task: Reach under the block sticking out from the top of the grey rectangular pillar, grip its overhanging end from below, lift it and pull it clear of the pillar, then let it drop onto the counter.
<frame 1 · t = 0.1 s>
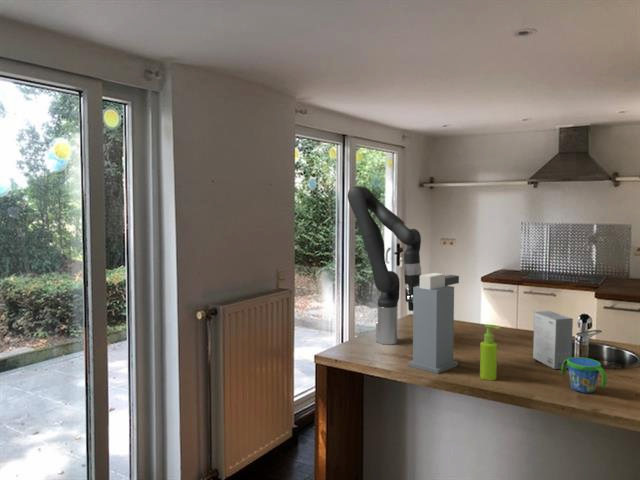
hand: (414, 308, 236), 17 cm above the counter, tool pointing down, fingers open, 8 cm apart
soap dispenser: (489, 378, 195), on the counter
block: (440, 285, 210), point 32 cm above the counter, touching grey rectangular pillar
snack cup: (582, 390, 182), on the counter
hard drive box: (551, 363, 212), on the counter
grey rectangular pillar: (433, 365, 210), on the counter
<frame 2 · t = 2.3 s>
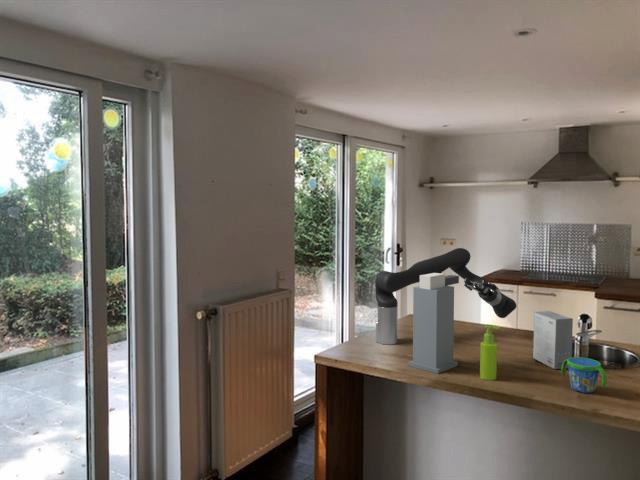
hand: (474, 280, 228), 31 cm above the counter, tool pointing upward, fingers open, 8 cm apart
nothing on the counter moved.
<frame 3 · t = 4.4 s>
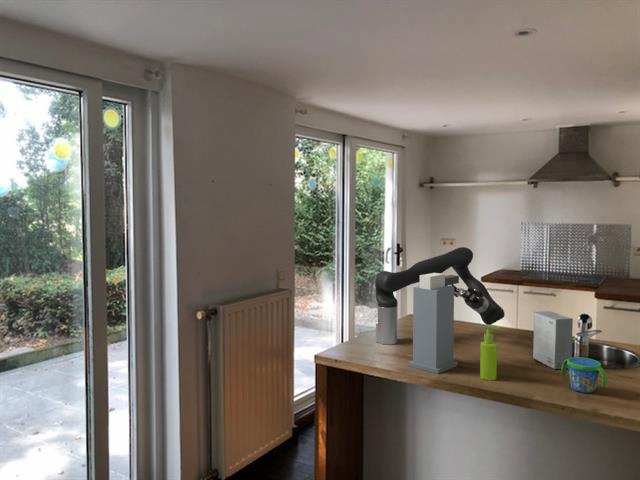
hand: (459, 287, 220), 30 cm above the counter, tool pointing upward, fingers open, 8 cm apart
nothing on the counter moved.
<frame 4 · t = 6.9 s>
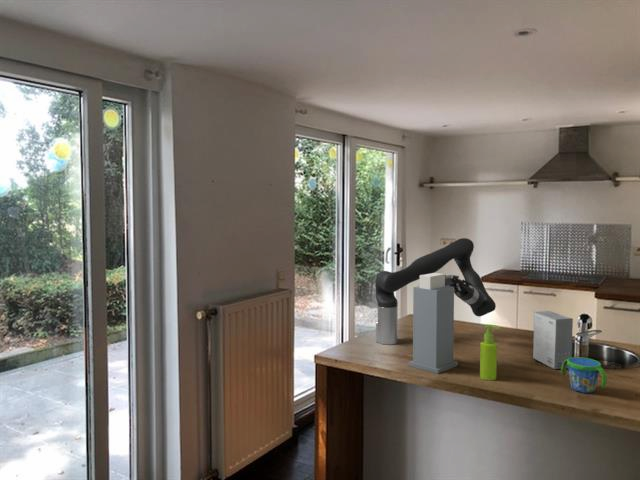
hand: (447, 276, 214), 35 cm above the counter, tool pointing upward, fingers closed on block, 4 cm apart
block: (440, 285, 210), point 32 cm above the counter, touching gripper, grey rectangular pillar
everything else where it was.
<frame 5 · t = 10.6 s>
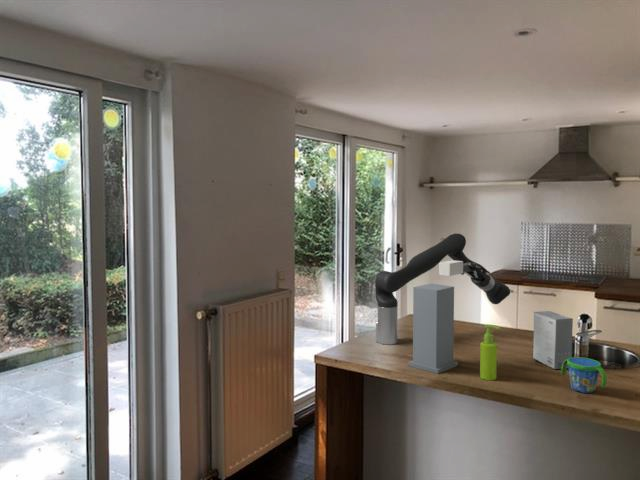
hand: (465, 264, 222), 39 cm above the counter, tool pointing upward, fingers closed on block, 4 cm apart
block: (458, 272, 219), point 36 cm above the counter, touching gripper
everything else where it was.
when the fingers open (26 cm above the counter, at t = 14.5 s): block drops 23 cm, on the counter.
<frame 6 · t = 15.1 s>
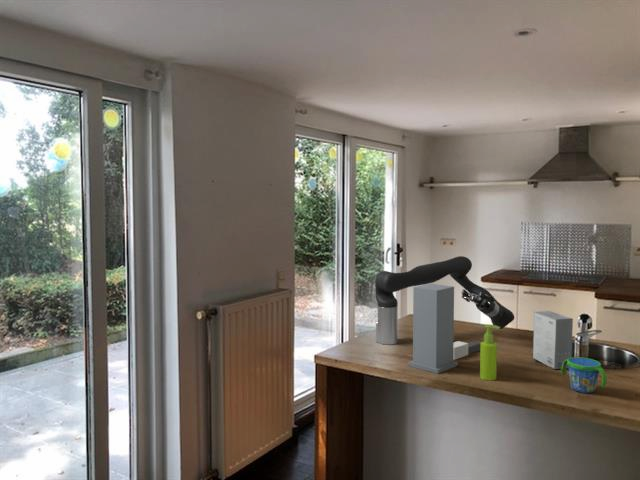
hand: (471, 292, 227), 26 cm above the counter, tool pointing upward, fingers open, 8 cm apart
block: (463, 353, 226), on the counter
everything else where it was.
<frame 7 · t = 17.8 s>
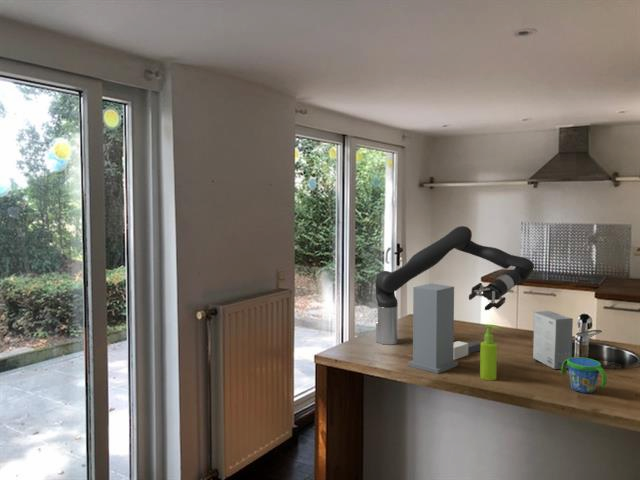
hand: (477, 303, 225), 22 cm above the counter, tool tilted 70°, fingers open, 8 cm apart
nothing on the counter moved.
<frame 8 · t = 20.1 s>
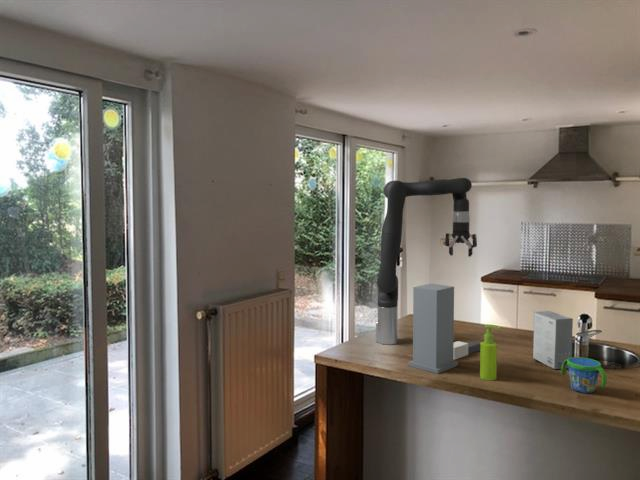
hand: (460, 255, 243), 40 cm above the counter, tool pointing down, fingers open, 8 cm apart
nothing on the counter moved.
at the end: block on the counter; the gripper is holding nothing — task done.
